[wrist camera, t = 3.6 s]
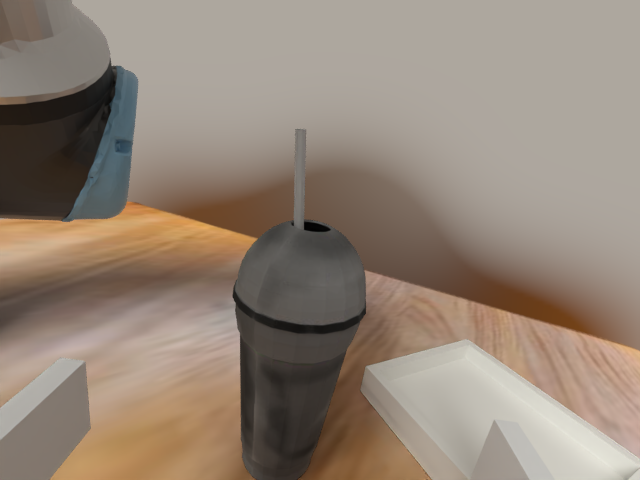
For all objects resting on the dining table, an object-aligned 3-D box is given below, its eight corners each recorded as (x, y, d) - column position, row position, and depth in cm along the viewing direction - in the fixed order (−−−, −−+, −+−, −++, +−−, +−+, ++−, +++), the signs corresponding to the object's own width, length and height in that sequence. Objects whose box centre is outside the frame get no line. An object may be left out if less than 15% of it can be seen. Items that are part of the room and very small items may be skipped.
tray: (359, 390, 28) (365, 366, 27) (460, 359, 34) (467, 338, 34) (541, 615, 16) (561, 581, 15) (643, 500, 22) (661, 473, 21)
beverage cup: (350, 493, 20) (437, 150, 14) (223, 528, 17) (261, 121, 11) (312, 399, 26) (360, 138, 20) (216, 414, 23) (237, 118, 17)
